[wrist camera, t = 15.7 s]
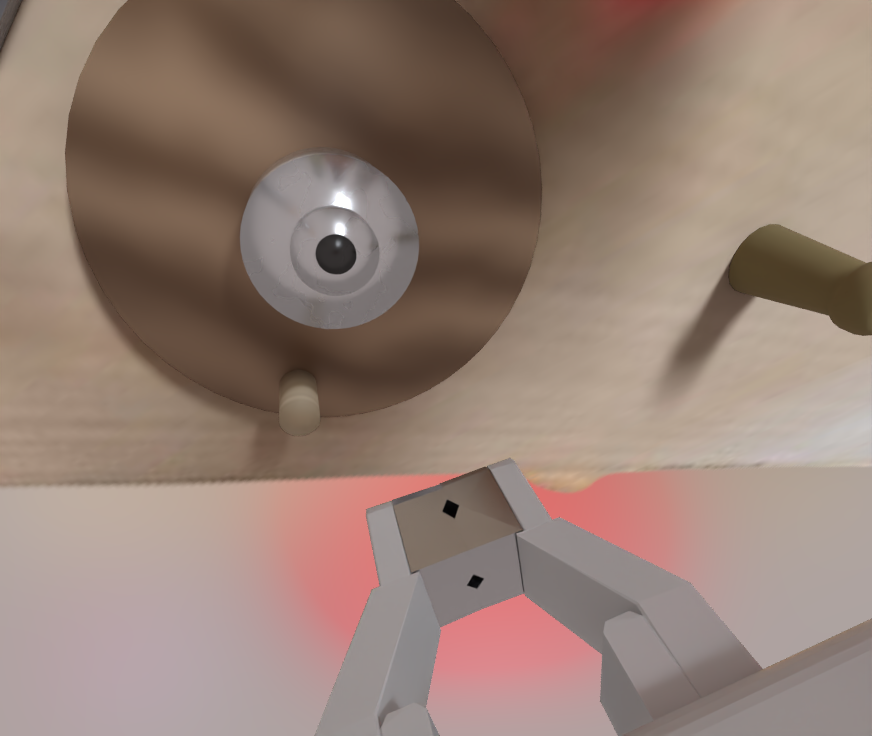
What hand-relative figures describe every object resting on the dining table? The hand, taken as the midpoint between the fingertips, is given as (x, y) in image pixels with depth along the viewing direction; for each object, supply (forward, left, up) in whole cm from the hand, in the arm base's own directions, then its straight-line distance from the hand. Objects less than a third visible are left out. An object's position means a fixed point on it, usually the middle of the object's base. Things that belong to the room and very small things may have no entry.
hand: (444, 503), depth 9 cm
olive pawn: (+12, +34, -23) cm, 43 cm away
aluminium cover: (0, 0, -21) cm, 21 cm away
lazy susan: (0, 0, -23) cm, 23 cm away
